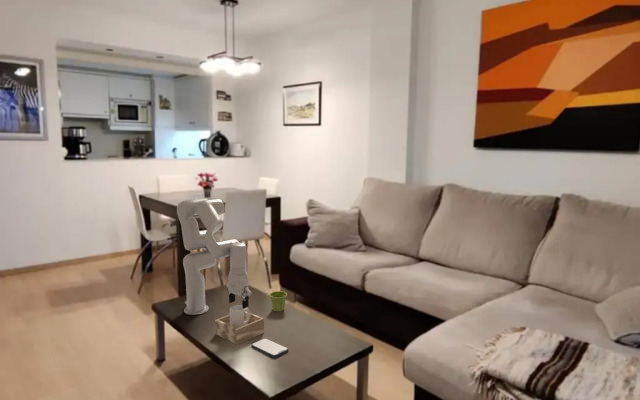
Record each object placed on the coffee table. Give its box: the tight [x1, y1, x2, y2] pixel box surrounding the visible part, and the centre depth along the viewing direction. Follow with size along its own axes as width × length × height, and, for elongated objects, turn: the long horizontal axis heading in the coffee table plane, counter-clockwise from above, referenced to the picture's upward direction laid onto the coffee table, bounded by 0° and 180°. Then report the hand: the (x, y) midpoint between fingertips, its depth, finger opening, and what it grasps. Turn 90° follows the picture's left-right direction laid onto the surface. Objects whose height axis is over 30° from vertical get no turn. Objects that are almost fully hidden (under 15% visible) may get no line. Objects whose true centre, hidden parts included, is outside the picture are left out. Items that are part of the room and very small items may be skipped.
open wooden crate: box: [214, 312, 265, 345], centre depth 198 cm, size 16×16×7 cm
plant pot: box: [269, 290, 288, 312], centre depth 226 cm, size 9×9×9 cm
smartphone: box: [251, 338, 289, 359], centre depth 184 cm, size 9×2×16 cm
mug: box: [229, 304, 251, 328], centre depth 198 cm, size 10×7×12 cm, turn 123°
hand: (238, 304), depth 197 cm, fingers open, 9 cm apart
